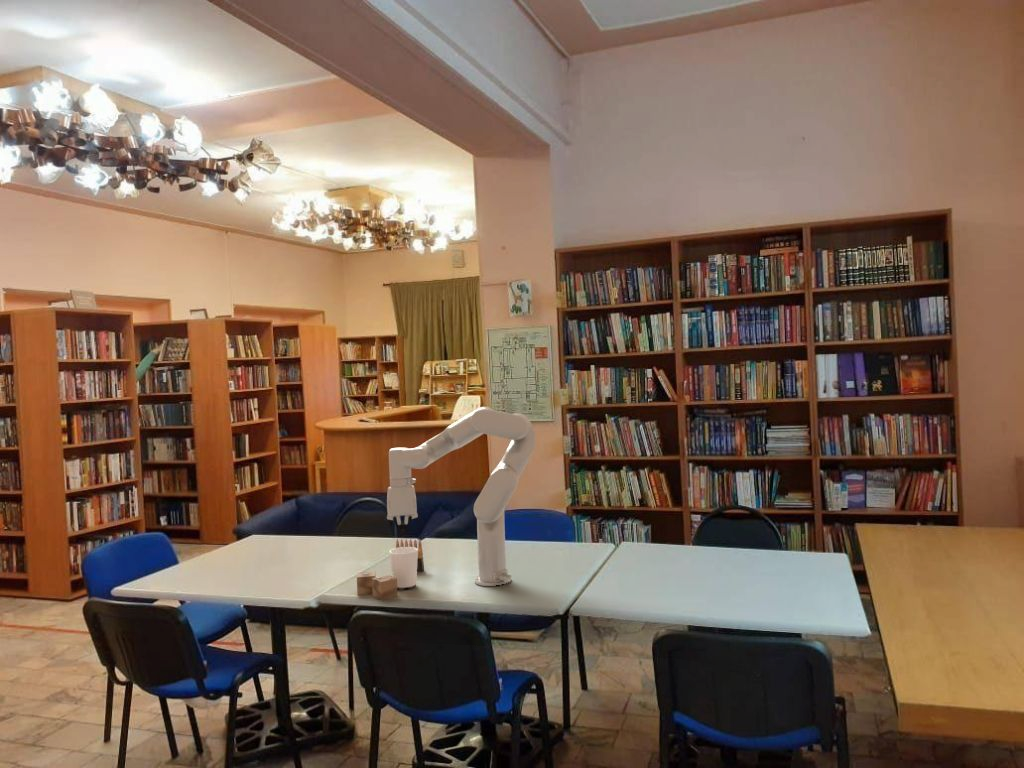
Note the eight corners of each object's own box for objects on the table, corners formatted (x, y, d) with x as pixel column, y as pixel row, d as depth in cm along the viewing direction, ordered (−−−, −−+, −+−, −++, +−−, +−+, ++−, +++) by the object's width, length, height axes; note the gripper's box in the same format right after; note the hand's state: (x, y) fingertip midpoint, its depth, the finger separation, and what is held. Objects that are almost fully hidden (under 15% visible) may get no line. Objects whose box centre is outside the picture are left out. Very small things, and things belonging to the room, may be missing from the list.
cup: (424, 583, 259) (422, 547, 259) (412, 591, 249) (411, 554, 249) (397, 582, 261) (396, 546, 261) (385, 590, 252) (384, 553, 252)
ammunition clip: (395, 571, 276) (394, 539, 276) (397, 570, 278) (395, 538, 278) (422, 572, 274) (421, 539, 274) (424, 570, 276) (422, 538, 276)
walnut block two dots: (397, 596, 246) (396, 577, 245) (381, 600, 242) (380, 581, 242) (388, 592, 250) (388, 574, 250) (372, 596, 247) (372, 577, 246)
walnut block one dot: (376, 588, 255) (375, 570, 255) (375, 593, 249) (374, 575, 249) (358, 590, 254) (357, 572, 254) (357, 595, 248) (356, 576, 248)
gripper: (422, 480, 264) (424, 531, 264) (379, 482, 262) (381, 534, 262) (422, 483, 256) (425, 536, 257) (378, 485, 254) (381, 539, 254)
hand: (403, 535), depth 259 cm, fingers closed
